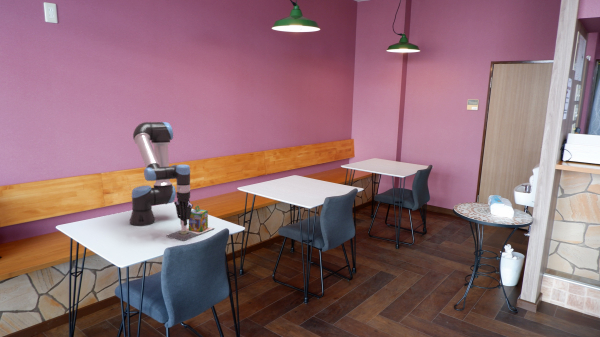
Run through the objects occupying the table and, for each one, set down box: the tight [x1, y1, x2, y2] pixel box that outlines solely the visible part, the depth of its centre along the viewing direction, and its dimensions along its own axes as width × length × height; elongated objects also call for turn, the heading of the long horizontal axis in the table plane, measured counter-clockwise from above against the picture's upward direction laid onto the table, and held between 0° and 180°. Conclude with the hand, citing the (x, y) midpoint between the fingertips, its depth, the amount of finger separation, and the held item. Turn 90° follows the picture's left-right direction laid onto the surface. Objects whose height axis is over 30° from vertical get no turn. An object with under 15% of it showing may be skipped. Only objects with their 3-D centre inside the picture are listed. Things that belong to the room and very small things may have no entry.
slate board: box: [166, 226, 215, 242], centre depth 240 cm, size 14×26×2 cm, turn 151°
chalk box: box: [188, 204, 209, 232], centre depth 243 cm, size 9×9×15 cm
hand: (183, 230), depth 231 cm, fingers closed
